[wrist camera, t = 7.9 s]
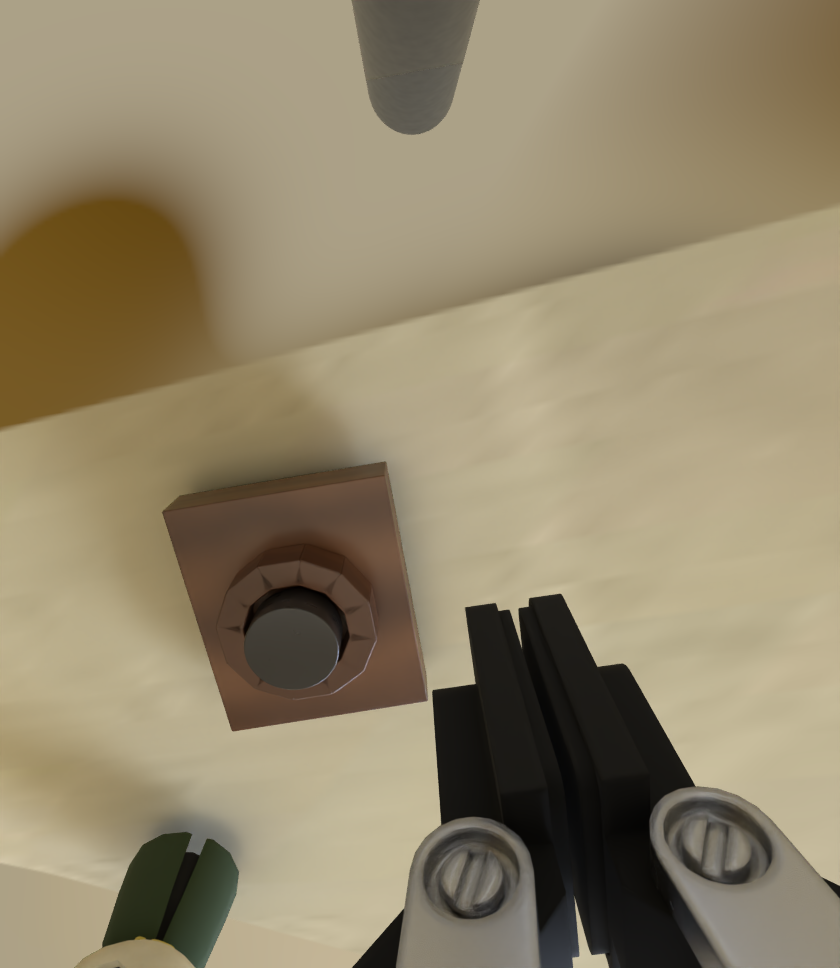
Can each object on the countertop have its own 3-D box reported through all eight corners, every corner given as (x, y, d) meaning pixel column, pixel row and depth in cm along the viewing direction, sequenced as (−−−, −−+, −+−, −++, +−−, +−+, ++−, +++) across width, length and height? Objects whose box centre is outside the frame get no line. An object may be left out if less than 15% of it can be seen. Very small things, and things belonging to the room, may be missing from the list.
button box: (178, 495, 29) (144, 527, 25) (386, 461, 29) (383, 487, 25) (242, 703, 33) (221, 758, 29) (426, 674, 32) (429, 726, 29)
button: (243, 595, 27) (232, 616, 25) (332, 581, 27) (327, 601, 25) (265, 672, 28) (256, 697, 26) (350, 659, 28) (347, 682, 26)
